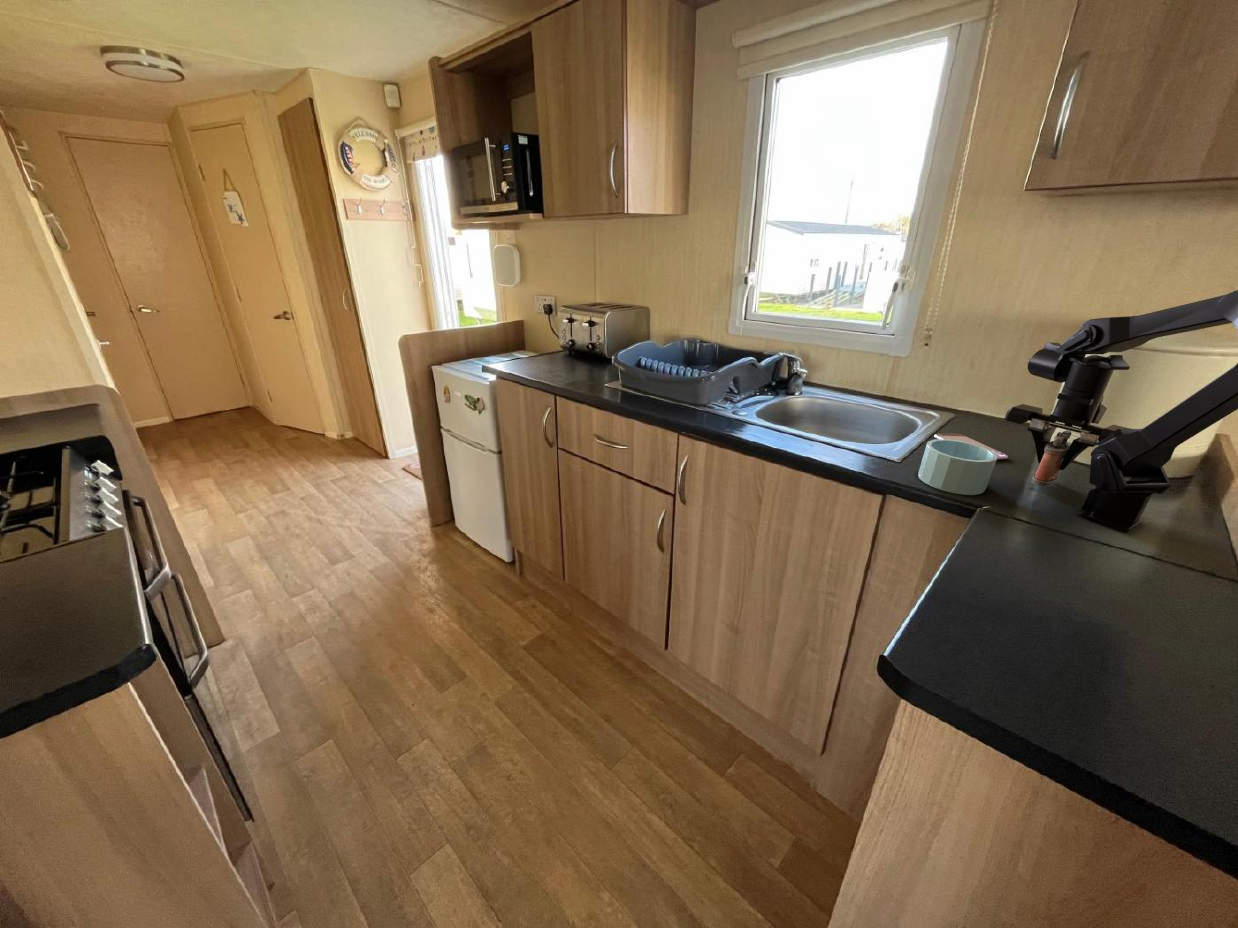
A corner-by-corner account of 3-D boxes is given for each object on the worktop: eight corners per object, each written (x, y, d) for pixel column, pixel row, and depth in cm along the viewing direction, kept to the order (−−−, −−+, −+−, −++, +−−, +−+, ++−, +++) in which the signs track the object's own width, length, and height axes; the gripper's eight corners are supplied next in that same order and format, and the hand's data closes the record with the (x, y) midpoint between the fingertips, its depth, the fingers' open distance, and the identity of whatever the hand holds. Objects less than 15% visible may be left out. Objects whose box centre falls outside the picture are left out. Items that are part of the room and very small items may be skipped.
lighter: (1048, 488, 93) (1069, 440, 89) (1027, 481, 96) (1046, 434, 92) (1061, 478, 98) (1081, 431, 94) (1041, 472, 100) (1059, 426, 96)
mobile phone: (959, 432, 122) (1011, 455, 108) (958, 435, 122) (1009, 459, 109) (932, 433, 121) (980, 456, 107) (931, 436, 121) (979, 460, 108)
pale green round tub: (996, 486, 96) (1009, 454, 93) (966, 500, 91) (978, 466, 88) (937, 465, 105) (946, 435, 102) (906, 476, 100) (915, 445, 97)
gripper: (1168, 396, 86) (1129, 476, 92) (1042, 373, 100) (1016, 443, 107) (1146, 405, 80) (1106, 488, 87) (1017, 379, 95) (990, 453, 101)
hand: (1051, 466), depth 96 cm, fingers closed on lighter, 3 cm apart
